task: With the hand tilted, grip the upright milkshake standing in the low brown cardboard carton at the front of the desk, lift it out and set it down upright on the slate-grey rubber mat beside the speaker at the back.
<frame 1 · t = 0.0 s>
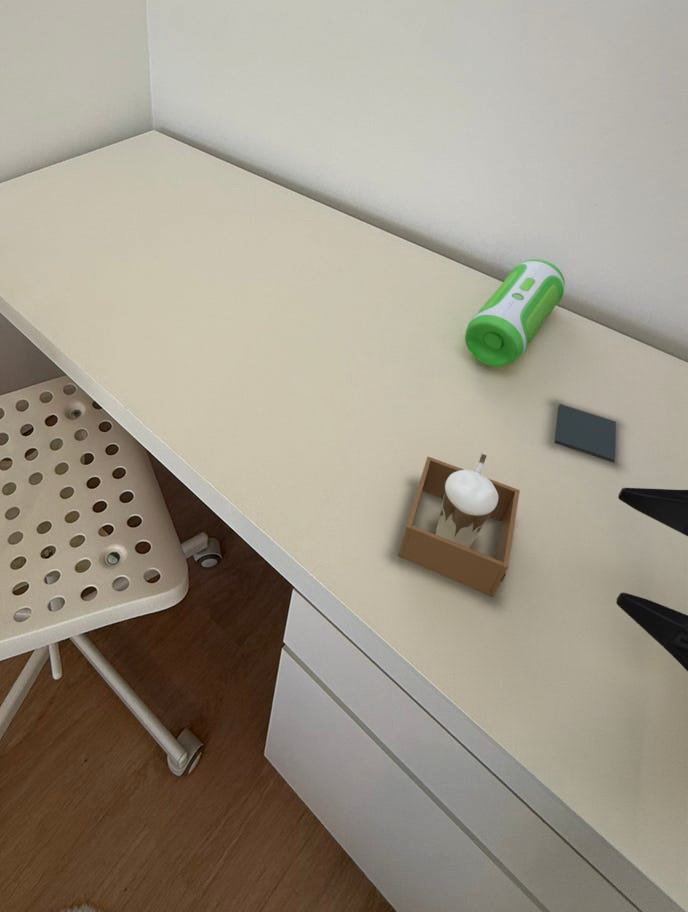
hand: (619, 541, 49), 15 cm above the table, tool horizontal, fingers open, 9 cm apart
carton: (452, 537, 66), on the table
mat: (585, 432, 76), on the table
speaker: (508, 333, 90), on the table
milkshake: (452, 538, 66), on the table
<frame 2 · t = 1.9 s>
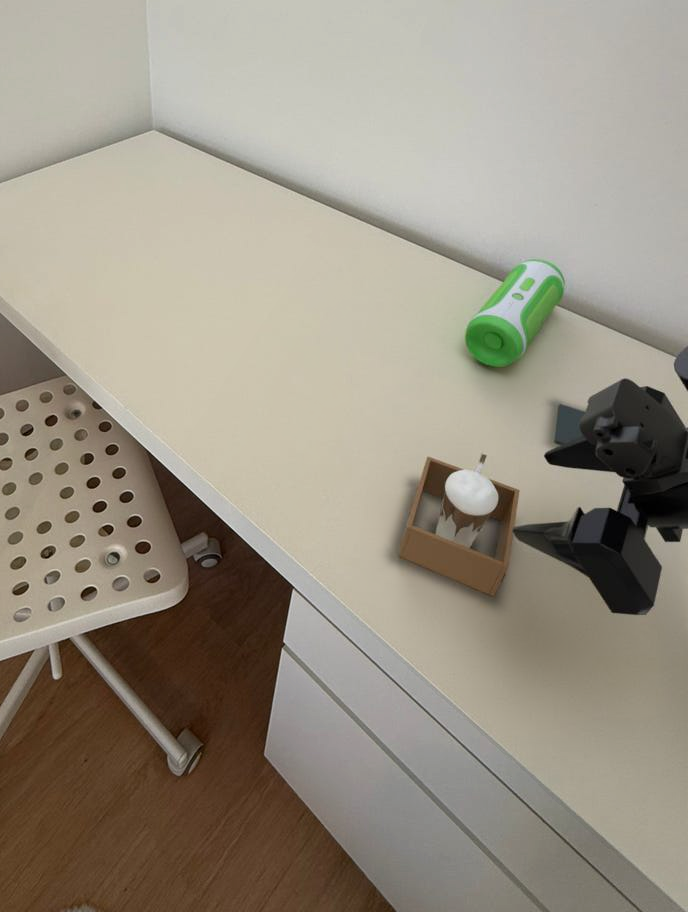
hand: (531, 494, 57), 11 cm above the table, tool tilted 45°, fingers open, 9 cm apart
nothing on the table moved.
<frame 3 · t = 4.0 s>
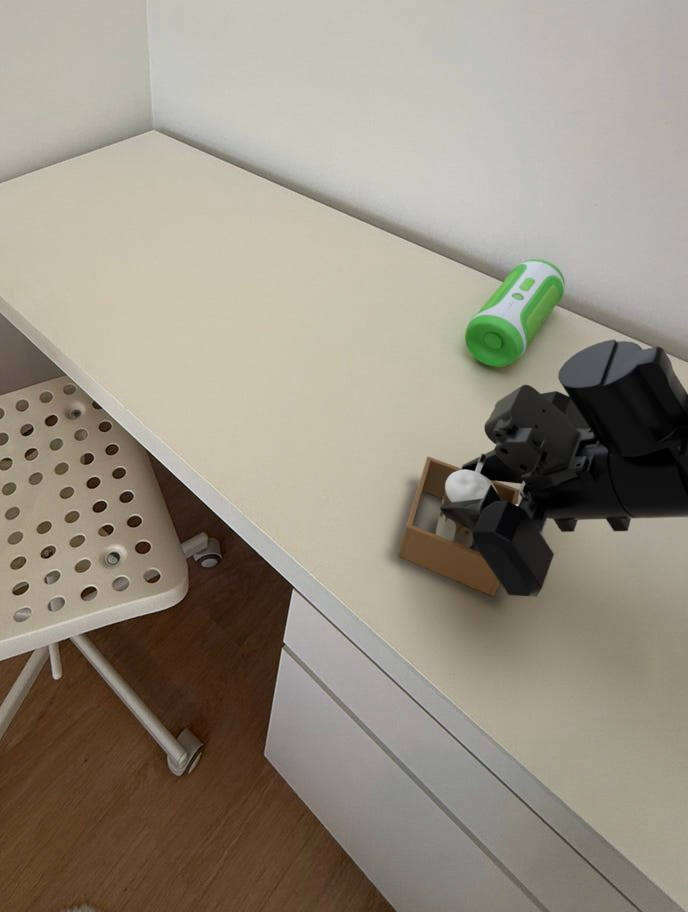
hand: (453, 490, 63), 7 cm above the table, tool tilted 45°, fingers closed on milkshake, 5 cm apart
milkshake: (452, 538, 66), on the table, touching gripper
everything else where it was.
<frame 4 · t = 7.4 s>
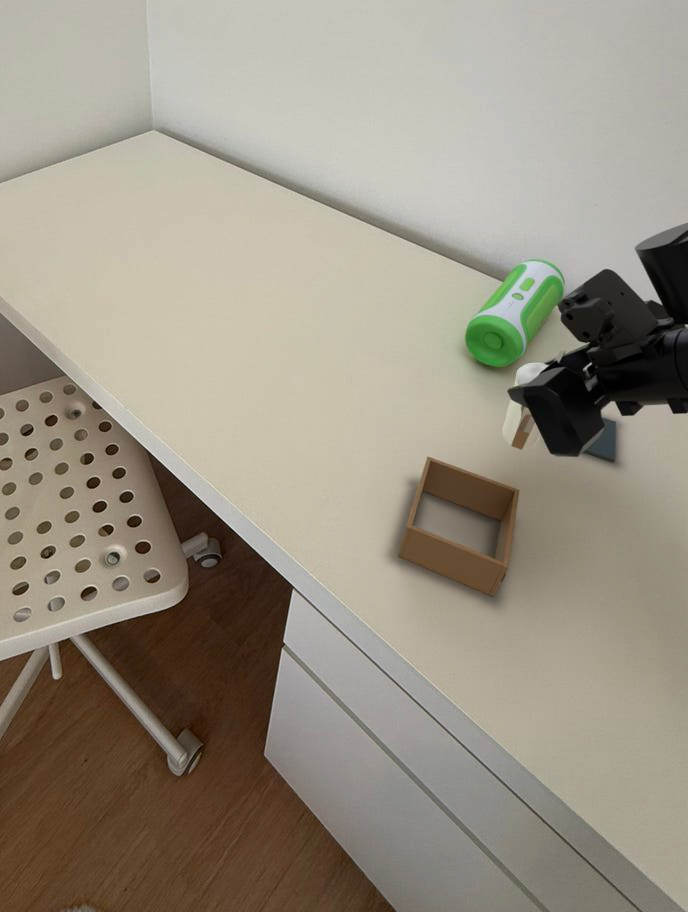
hand: (526, 381, 65), 13 cm above the table, tool tilted 45°, fingers closed on milkshake, 5 cm apart
milkshake: (520, 436, 68), point 6 cm above the table, touching gripper
everything else where it was.
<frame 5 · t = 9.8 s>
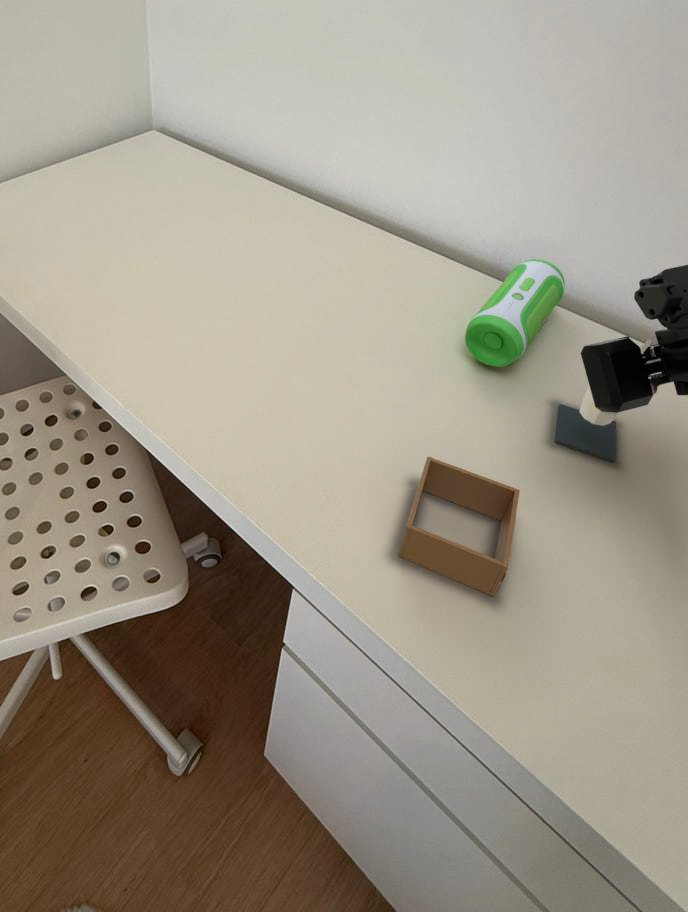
hand: (609, 362, 71), 10 cm above the table, tool tilted 45°, fingers closed on milkshake, 5 cm apart
milkshake: (597, 415, 74), point 3 cm above the table, touching gripper
everything else where it was.
when the fingers open (7 cm above the table, at t = 11.2 s): milkshake stays where it is, resting on mat.
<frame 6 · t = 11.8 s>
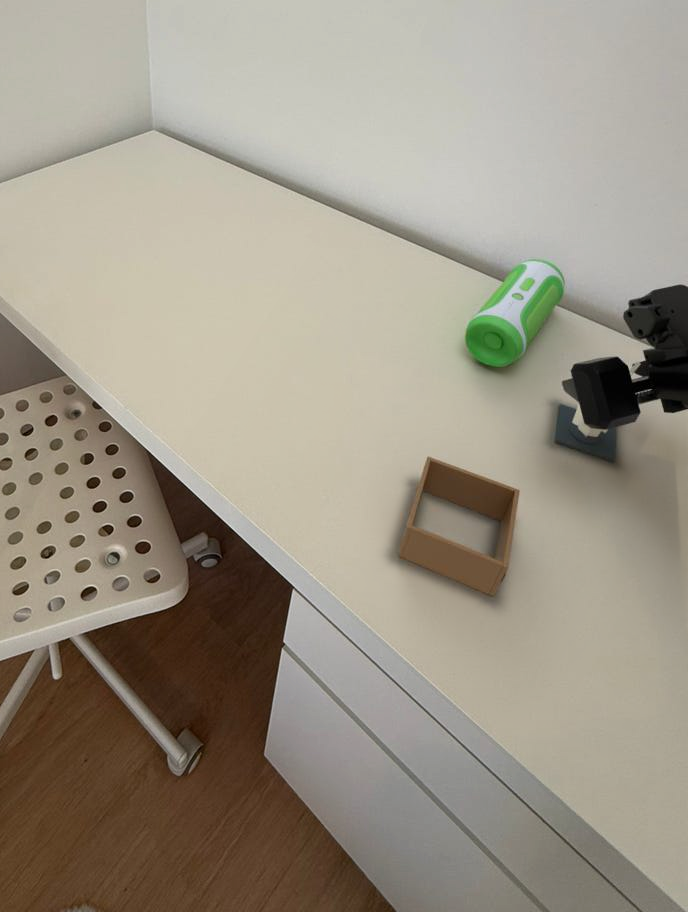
hand: (599, 377, 73), 8 cm above the table, tool tilted 45°, fingers open, 9 cm apart
milkshake: (586, 433, 76), resting on mat
everything else where it was.
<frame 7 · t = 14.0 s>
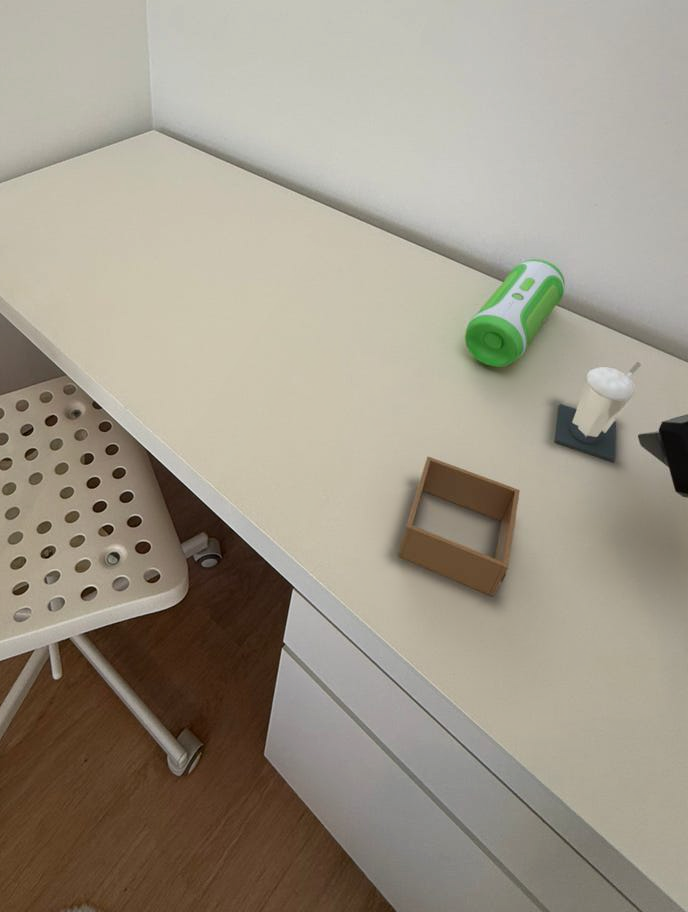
hand: (679, 428, 64), 10 cm above the table, tool tilted 45°, fingers open, 9 cm apart
nothing on the table moved.
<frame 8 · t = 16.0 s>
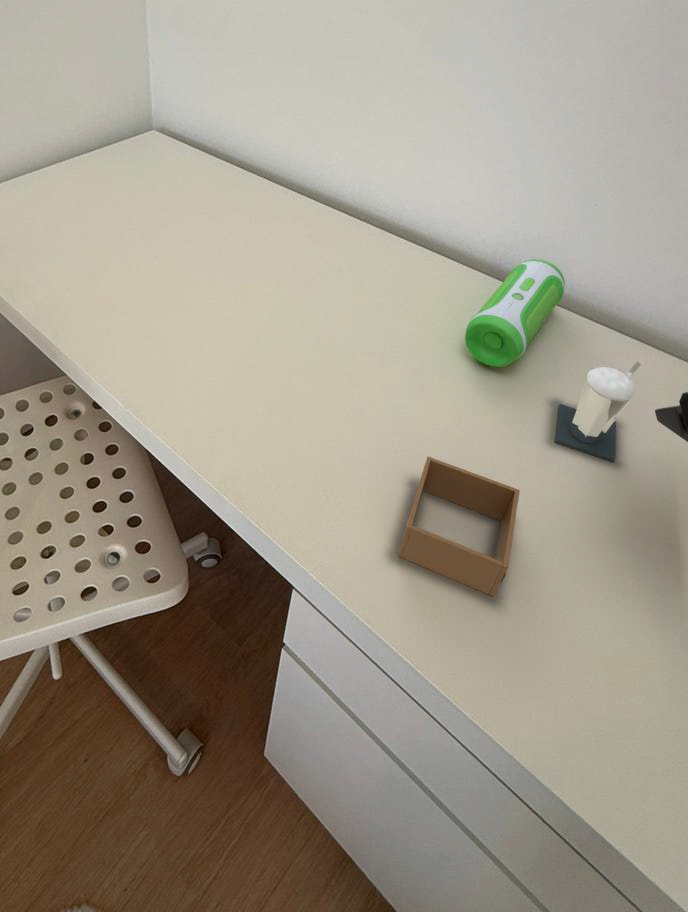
nothing on the table moved.
at the end: milkshake inside the target area on the mat (0.1 cm from its centre), point 0.2 cm above the mat's base; milkshake tilted 0°; milkshake 17.4 cm from the speaker (horizontally) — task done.
